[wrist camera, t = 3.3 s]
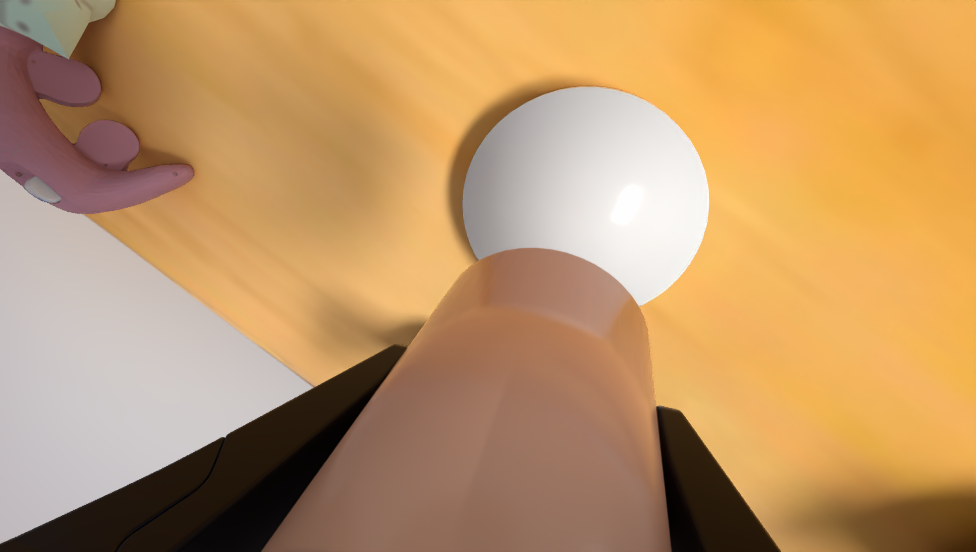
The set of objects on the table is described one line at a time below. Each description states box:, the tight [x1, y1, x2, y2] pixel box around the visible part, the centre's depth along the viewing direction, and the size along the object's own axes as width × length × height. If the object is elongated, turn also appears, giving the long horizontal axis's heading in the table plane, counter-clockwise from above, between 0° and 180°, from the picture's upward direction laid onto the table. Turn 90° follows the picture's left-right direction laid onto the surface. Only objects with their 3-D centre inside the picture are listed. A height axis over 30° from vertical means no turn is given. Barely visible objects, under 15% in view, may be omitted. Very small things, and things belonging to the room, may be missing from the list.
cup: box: [261, 248, 672, 552], centre depth 6 cm, size 5×5×7 cm
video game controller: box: [0, 26, 194, 214], centre depth 20 cm, size 10×5×7 cm, turn 19°
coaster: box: [462, 86, 709, 306], centre depth 17 cm, size 10×10×1 cm
